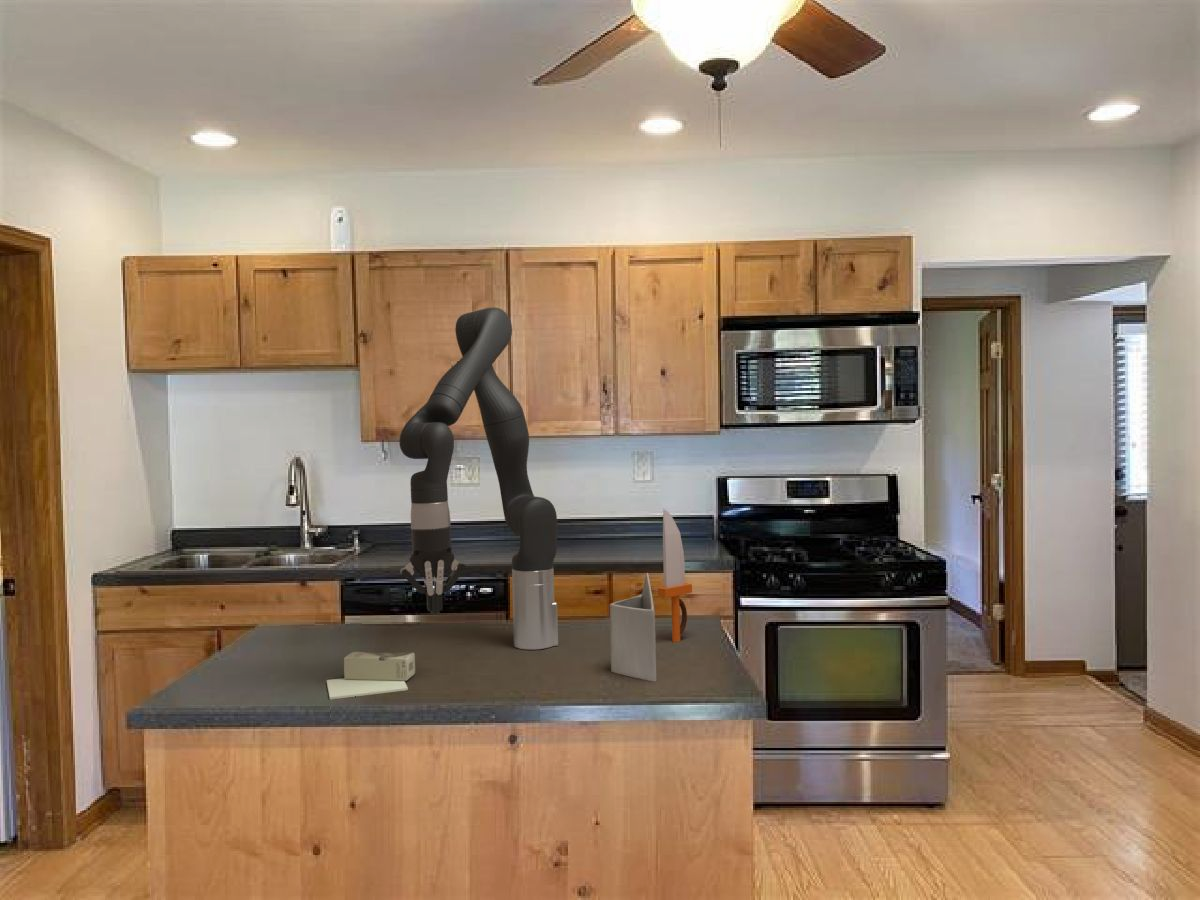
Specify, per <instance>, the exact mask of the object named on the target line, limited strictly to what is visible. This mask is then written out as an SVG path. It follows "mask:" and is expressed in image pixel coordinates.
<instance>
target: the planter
mask: <svg viewBox="0 0 1200 900" xmlns="http://www.w3.org/2000/svg"><path fill="white" fill-rule="evenodd" d="M644 577H645V578H644V584H643V587H642V592H641V593H640V594H639V595H637V596H633V597H629V598H626V599H621V600H618V601H615V602H611V603H610V604H609V636H610V638H609V639H610V670H611V673H615V674H617V675H622V676H625V677H631V678H635V679H640V680H643V681H648V682H653V683H654V682H655V683H656V682H657V656H656V654H657V653H656V652H657V650H656V649H657V648H656V645H657V644H656V643H657V642H656V615H655V614H656V613H655V606H654V599H653V594H652V593H653V592H652V587H651V581H650V575H649V573H648V572H646V574H645V576H644Z"/></svg>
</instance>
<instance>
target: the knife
mask: <svg viewBox="0 0 1200 900" xmlns="http://www.w3.org/2000/svg"><path fill="white" fill-rule="evenodd" d="M662 510H663V511H662V512H663V515H662V519H663V520H662V554H663V555H662V557H663V558H662V559H663V560H662V561H663V564H662V565H663V586H661V587H660V586H659V587H657V597H659V598H664V599H667V598H670V599H671V602H670V603H671V606H670V607H671V631H672V632H671V635H672V636H671V637H672V639H671V640H672V642H673V643H679V642H681V635H682V634H684V631H685V629H686V628H687V622H688V612H687V606H686V605H685V603H684V601H683V600H682V599H681V598H680V596H682V595H687V594H692V593H693V584H692V583H687V582H686V577H685V576H686V574H685V573H686V572H685V568H686V566H685V555H684V554H685V553H684V547H683V542H682V537H681V536H682V535H681V532H680V529H679V527H678V526H677V524H676V521H675V519H674V518H673V517H672V515H671V514H670V512H668V510H666V509H665V508H662ZM680 610H681V614H680ZM680 615H681V616H680Z"/></svg>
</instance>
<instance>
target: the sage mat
mask: <svg viewBox="0 0 1200 900" xmlns="http://www.w3.org/2000/svg"><path fill="white" fill-rule="evenodd" d="M326 685H327V686H326V687H327V691H328V696H329V700H331V701H332V700H337V699H338V700H339V699H345V698H353V697H355V696H356V697H362V696H371V695H377V694H378V695H380V694H386V693H387V694H388V693H396V692H404V691H408V690H409V688H408V685H407V684H406V681H402V680H351V679H345V678H335V679H326Z"/></svg>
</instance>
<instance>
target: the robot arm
mask: <svg viewBox="0 0 1200 900" xmlns="http://www.w3.org/2000/svg"><path fill="white" fill-rule="evenodd" d="M512 334H513V325H512V322H511V319H510V316H509V315H508V313H506V311H504V310H503V309H502V308H499V307H487V308H482V309H478V310H473V311H470V312H466V313H463V314H461V315H460V316H459V317H458V318H457V320H456V323H455V338H456V342H457V345H458V348H459V350H460V351H459V352H460V353H461V358H460V359H459V360H458V361H457V362H456V363H455V364H453V365H452V366H451V367H450V368H449V369H447V371H446V372H445V373H444V374H443V375H442V376H441V377H440V379H439V381H438V382H437V384H436V385H435V387H434V389H433V390H432V393H431V394H430V396H429V398H428V400H427V401H426V403H425V404H424V405H423V406H421V407H420V408H419V409H418V410H417V411H416V413H414V414H413V416H412V417H410V419H409V420H408V421H407V422H406V423H405V424H404V426H403V428H402V430H401V432H400V435H399V440H398V441H399V449H400V451H401V453H402V454H403V455H404V456H405V457H407V458H409V459H411V460H412V459H413V460H426V459H427V462H426V465H425V469H424V470H422V471H418V472H415V473H413V474H412V475H411V477H410V482H409V483H410V502H411V503H410V505H411V506H410V507H411V508H410V529H411V530H410V532H411V549H412V550H411V551H412V552H411V556H410V558H409V563H408V564H406V566H405V567H404V566H403V567H401V568H400V570H399V572H400V574H401V575H402V576H403V577H404V578H405V579H406V580H407V581H408V582H409V584H411V586H412V587H413V588H414V589H415V590H416V591H417V592H418V593H419V594H422V595H423V594H424V595H426V609H427V611H428V612H429V613H430V614H431V615H439V614H440V612H441V611H443V607H444V605H443V595H444V593H445V592H448V591H451V590H452V588H453V587H454V585H455V583H457V581H458V580H459V578H460V576H461V575H462V574H463V572H464V570H465V569H466V565H465V564H464V563H463V562H461V561H458V559H456V558H455V555H454V553H453V550H452V534H451V533H452V532H451V523H452V519H451V513H450V512H451V511H450V507H449V496H448V494H449V493H448V477H449V474H450V473H449V472H450V467H451V462H452V458H453V453H454V449H455V439H454V435H453V432H452V430H451V428H450V426H452V425H454V424H456V423H457V422H458V420H459V419H460V417H461V416H462V413H463V411H464V409H465V407H466V405H467V404H468V401H469V399H470V397H471V395H472V394H473V392H474V394H475V397H476V401H477V404H478V408H479V411H480V415H481V419H482V420H481V421H482V427H483V428H484V434H485V436H486V441H487V443H488V447H489V450H490V454H491V458H492V461H493V465H494V470H495V473H496V476H497V481H498V485H499V491H500V498H501V503H502V511H503V515H504V521H505V524H506V526H507V528H508V529H509V530H510V531H511V532H512V533H513V534H514V535H516V536H519V549H518V551H517V553H516V554H514V555H513V556H512V558H511V576H512V577H511V578H512V613H513V615H512V618H513V619H512V620H513V623H512V624H513V646H514V647H515V648H516V649H521V650H542V649H548V648H551V647H554V646H555V647H556V646H559V632H558V631H559V628H558V627H559V626H558V625H559V623H558V622H559V621H558V619H559V617H558V603H557V602H556V601H555V580H554V577H555V576H554V573H555V572H554V561H555V558H556V555H557V551H558V549H557V548H558V516H557V515H558V514H557V510H556V509H555V506H554V504H553V503H552V501H550V500H549V499H547V498H545V497H541V496H535V494H534V493H533V490H532V486H531V481H530V479H529V475H528V456H529V448H530V434H529V430H528V429H529V428H528V424H527V419H526V417H525V412H524V409H523V407H522V405H521V403H520V402H519V400H518V398H517V397H516V396H515V395H514V394H513V393H512V392H511V390H510V389H509V388H508V387H507V386H506V385H505V384H504V383H503V382H502V380H501V379H500V378H499V376H498V375H497V373H496V371H495V369H494V367H493V364H494V363H495V361H496V360H497V358H498V357H500V355H501V354H502V352H504V350H505V349H506V348H507V346H508V345H509V344H510V342H511V339H512ZM450 568H451V572H450V574H449V575H448V576H447V578H446V580H445V581H444V576H445V575H446V573H448V570H449V569H450ZM414 569H415V571H417V573H418V574H419V575H420V576H421V577H422V578H423V582H424V585H421V583H419V581H417V579H416V578H415V577H414V576H413V575H414V574H415V571H414Z"/></svg>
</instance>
